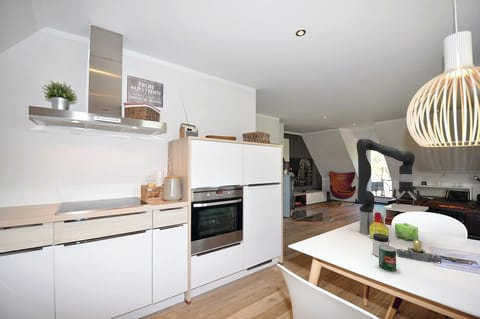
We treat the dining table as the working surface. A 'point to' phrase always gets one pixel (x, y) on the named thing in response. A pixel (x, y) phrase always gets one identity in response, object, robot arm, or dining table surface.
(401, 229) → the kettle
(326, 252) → the dining table surface
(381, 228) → the bottle
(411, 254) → the bolt keeper plate
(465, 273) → the dining table surface
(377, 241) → the jar
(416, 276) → the dining table surface
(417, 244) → the pin
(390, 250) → the canned tomato
